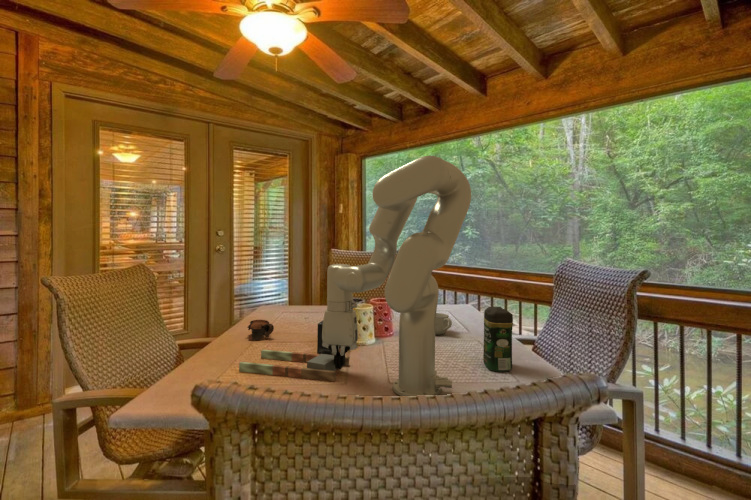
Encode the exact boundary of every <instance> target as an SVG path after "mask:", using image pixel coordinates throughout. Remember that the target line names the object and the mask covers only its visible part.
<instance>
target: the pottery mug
mask: <svg viewBox="0 0 751 500" xmlns="http://www.w3.org/2000/svg"><path fill="white" fill-rule="evenodd" d="M274 328H275V327H274V325H273V324H272V323H270V322H269V321H268V320H266V319H253V320H251V321H250V322H249V325H248V326H247V330H248V331H250V330H251V334H248V335H247V337H248V341H264V337H265V338H269V336H270V335H271V334H272V333H273V332H274V330H275V329H274Z"/></svg>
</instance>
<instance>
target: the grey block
mask: <svg viewBox="0 0 751 500" xmlns="http://www.w3.org/2000/svg"><path fill="white" fill-rule="evenodd" d="M306 368H310V369H320V370H331V371H337V370H338V369H335V365H334V355H329V354H319V356H317V357H315V358H313V359H311V360H309V361H307V362H306Z"/></svg>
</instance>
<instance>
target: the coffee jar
mask: <svg viewBox="0 0 751 500" xmlns="http://www.w3.org/2000/svg"><path fill="white" fill-rule="evenodd" d="M483 313H484V314H483V356H482V357H483V359H482V360H483V364H484V365H485V367H486V368H487V369H488V370H489V371H493V372H494V371H495V372H497V373H498V372H499V373H505V372H509V371H511V370H512V369H513V325H514V323H513V322H514V317H513V314H512V312H510V311H509V310H507V309H505V308H503V307H502V306H488V307H487V308H486V309H484V312H483Z"/></svg>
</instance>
